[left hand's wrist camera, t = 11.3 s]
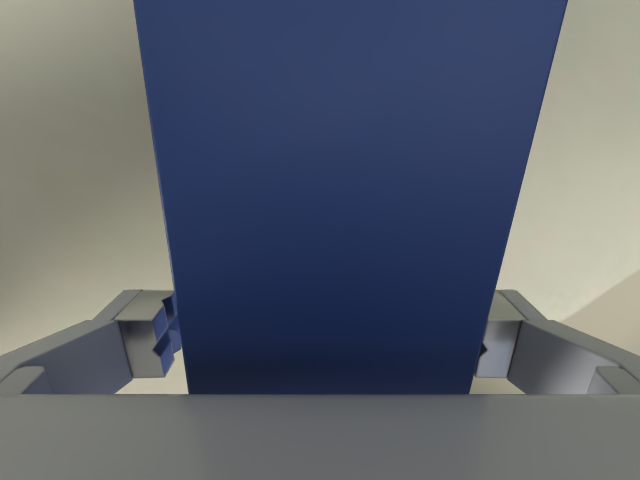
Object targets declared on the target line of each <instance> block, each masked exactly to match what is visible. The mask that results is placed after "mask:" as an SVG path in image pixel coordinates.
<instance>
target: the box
mask: <svg viewBox="0 0 640 480" xmlns="http://www.w3.org/2000/svg"><path fill="white" fill-rule="evenodd" d="M133 2H134V9H135V17H136V24H137V31H138V38H139V45H140V52H141V59H142V66H143V73H144V80H145V88H146V95H147V102H148V109H149V116H150V123H151V130H152V137H153V144H154V151H155V158H156V166H157V173H158V180H159V187H160V194H161V201H162V208H163V215H164V222H165V229H166V236H167V244H168V251H169V258H170V265H171V272H172V279H173V286H174V293H175V300H176V307H177V315H178V322H179V329H180V336H181V343H182V350H183V357H184V364H185V371H186V378H187V385H188V393H189V394H469V392H470V388H471V384H472V380H473V376H474V372H475V368H476V364H477V360H478V356H479V352H480V348H481V344H482V340H483V336H484V332H485V328H486V324H487V320H488V316H489V312H490V308H491V304H492V300H493V296H494V292H495V288H496V284H497V280H498V276H499V273H500V269H501V265H502V261H503V257H504V253H505V249H506V245H507V241H508V237H509V233H510V229H511V225H512V221H513V217H514V213H515V209H516V205H517V201H518V197H519V193H520V189H521V185H522V181H523V177H524V173H525V169H526V165H527V161H528V157H529V153H530V149H531V145H532V141H533V137H534V133H535V129H536V125H537V121H538V117H539V113H540V109H541V105H542V101H543V97H544V93H545V89H546V85H547V81H548V77H549V74H550V70H551V66H552V62H553V58H554V54H555V50H556V46H557V42H558V38H559V34H560V30H561V26H562V22H563V18H564V14H565V10H566V6H567V2H568V0H133Z"/></svg>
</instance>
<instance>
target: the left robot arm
mask: <svg viewBox="0 0 640 480" xmlns="http://www.w3.org/2000/svg"><path fill="white" fill-rule="evenodd" d="M181 348H182V343H181V336H180V329H179V322H178V315H177V307H176V300H175V293H174V290H143V289H139V290H123V291H122V292H121V293H120V294H119V295H118V296H117V297H116V298H115V299H114V300H113V301H112V302H111V303H110V304H109V305H108V306H106V307H105V308H104V309H103V310H102V311H101V312H100V313H99V314H98V315H97V316H96V317H95V318H94V319H93V320H86V321H83V322H81V323H78V324H76V325H74V326H71V327H69V328H66V329H64V330H62V331H59V332H57V333H54V334H52V335H50V336H47V337H45V338H42V339H40V340H38V341H35V342H33V343H30V344H28V345H26V346H23V347H21V348H18V349H16V350H14V351H11V352H9V353H6V354H4V355H2V356H0V480H640V356H638V355H636V354H633V353H631V352H629V351H626V350H624V349H621V348H619V347H617V346H614V345H612V344H609V343H607V342H605V341H602V340H600V339H597V338H595V337H593V336H590V335H588V334H585V333H583V332H581V331H578V330H576V329H574V328H571V327H569V326H566V325H564V324H562V323H559V322H557V321H554V320H547V319H546V318H545V317H544V316H543V315H542V314H541V313H540V312H539V311H538V310H537V309H536V308H535V307H534V306H533V305H531V304H530V303H529V302H528V301H527V300H526V299H525V298H524V297H523V296H522V295H521V294H520V293H519V292H518V291H516V290H513V289H509V290H495V292H494V296H493V300H492V304H491V308H490V312H489V316H488V320H487V324H486V328H485V332H484V336H483V340H482V344H481V348H480V352H479V356H478V360H477V364H476V368H475V372H474V376H475V377H477V378H508V381H510V382H511V383H512V384H514V385H515V386H516V387H518V388H519V389H520V390H522V391H523V392H524V393H526V394H115V393H116V392H117V391H119V390H120V389H121V388H122V387H124V386H125V385H126V384H128V383H129V382H130V381H132V378H162V377H165V376H166V374H167V372H168V371H169V369H170V367H171V365H172V364H173V362H174V353H175V352H177V351H179V350H180V349H181Z"/></svg>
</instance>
